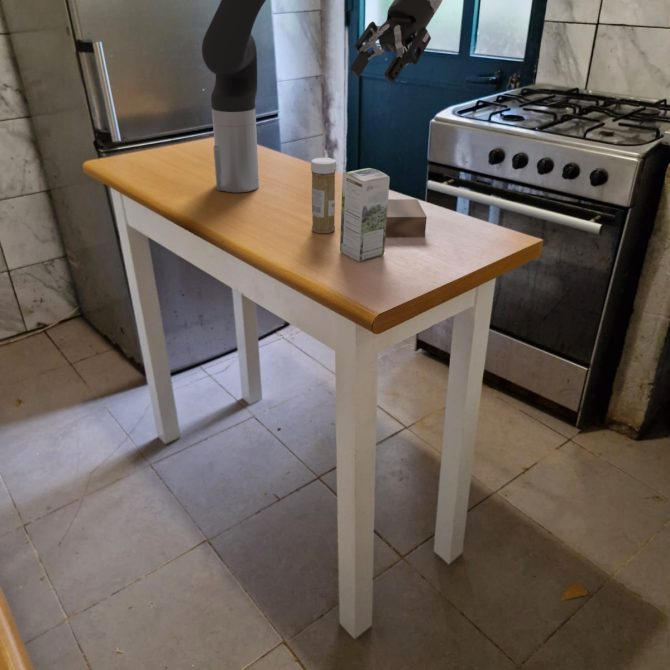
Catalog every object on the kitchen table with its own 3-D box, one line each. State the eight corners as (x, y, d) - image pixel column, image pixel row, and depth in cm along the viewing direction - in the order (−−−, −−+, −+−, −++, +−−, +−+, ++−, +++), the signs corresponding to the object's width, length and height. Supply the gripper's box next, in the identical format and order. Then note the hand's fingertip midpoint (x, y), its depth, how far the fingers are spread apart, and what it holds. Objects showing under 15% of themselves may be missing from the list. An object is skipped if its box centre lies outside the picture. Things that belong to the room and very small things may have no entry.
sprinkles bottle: (339, 232, 120) (340, 161, 113) (317, 236, 118) (317, 164, 111) (328, 224, 123) (329, 155, 117) (307, 227, 122) (306, 158, 115)
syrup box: (364, 245, 115) (367, 166, 107) (385, 256, 111) (390, 174, 103) (339, 252, 112) (341, 171, 104) (360, 263, 108) (363, 180, 100)
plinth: (372, 237, 118) (373, 217, 116) (366, 218, 126) (367, 199, 124) (424, 237, 118) (426, 216, 116) (415, 218, 127) (417, 199, 125)
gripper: (379, -15, 116) (333, 57, 115) (439, -13, 107) (390, 66, 106) (397, 15, 122) (353, 85, 121) (455, 20, 113) (409, 95, 112)
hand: (370, 76), depth 114 cm, fingers open, 8 cm apart
